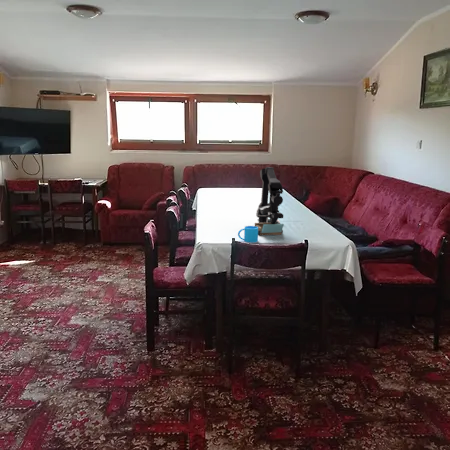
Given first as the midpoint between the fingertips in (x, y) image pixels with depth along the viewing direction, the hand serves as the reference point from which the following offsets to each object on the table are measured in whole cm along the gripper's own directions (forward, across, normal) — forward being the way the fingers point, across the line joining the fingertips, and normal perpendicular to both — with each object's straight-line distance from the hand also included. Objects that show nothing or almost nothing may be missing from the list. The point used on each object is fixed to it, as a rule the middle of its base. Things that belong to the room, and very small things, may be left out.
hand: (272, 226), depth 260 cm
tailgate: (+4, -1, 0) cm, 4 cm away
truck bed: (+6, -8, 0) cm, 10 cm away
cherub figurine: (+7, -42, +13) cm, 45 cm away
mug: (+6, +9, -19) cm, 22 cm away
